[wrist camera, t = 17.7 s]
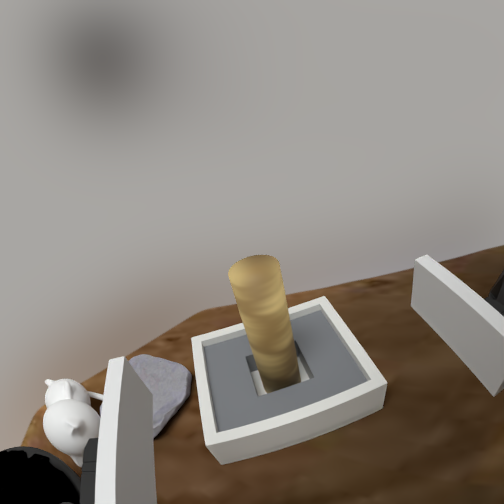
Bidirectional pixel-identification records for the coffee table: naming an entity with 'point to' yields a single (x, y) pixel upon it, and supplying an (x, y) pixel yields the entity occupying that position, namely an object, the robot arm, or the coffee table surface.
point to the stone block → (162, 386)
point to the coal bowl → (36, 478)
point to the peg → (266, 319)
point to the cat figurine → (70, 417)
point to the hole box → (287, 399)
